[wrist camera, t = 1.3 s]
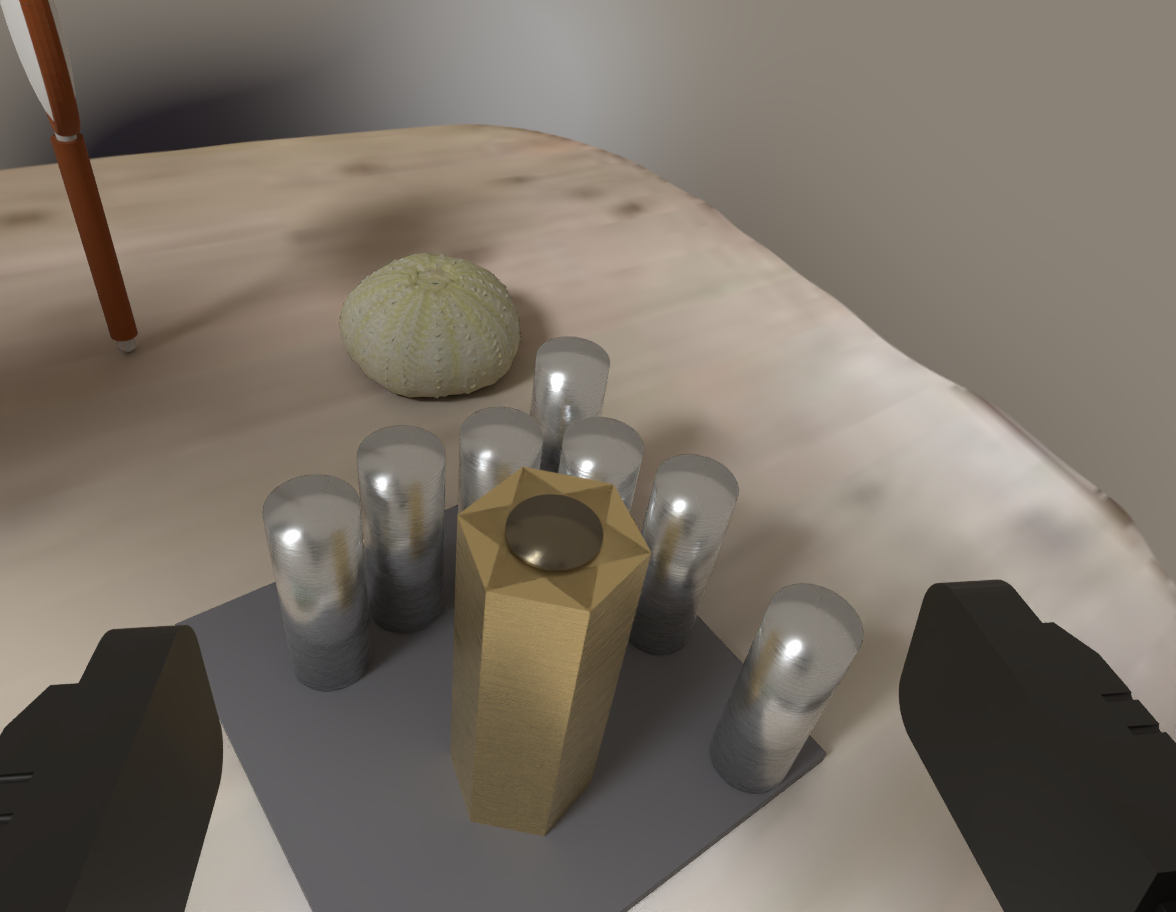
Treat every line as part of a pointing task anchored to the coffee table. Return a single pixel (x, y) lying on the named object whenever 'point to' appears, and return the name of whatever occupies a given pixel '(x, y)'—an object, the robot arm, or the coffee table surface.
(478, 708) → the gold hexagonal pillar
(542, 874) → the mat
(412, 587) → the spacer posts
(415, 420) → the coffee table surface
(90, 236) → the magnifying glass
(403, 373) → the sea urchin shell
